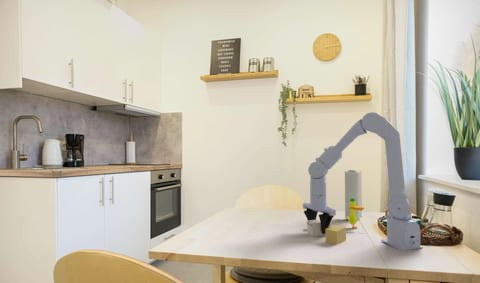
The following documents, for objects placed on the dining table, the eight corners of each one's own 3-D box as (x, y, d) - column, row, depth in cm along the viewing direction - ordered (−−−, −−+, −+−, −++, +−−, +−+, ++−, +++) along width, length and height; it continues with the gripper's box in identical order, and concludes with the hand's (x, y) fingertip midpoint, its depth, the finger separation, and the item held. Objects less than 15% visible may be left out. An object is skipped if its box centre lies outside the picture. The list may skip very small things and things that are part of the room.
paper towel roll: (345, 219, 135) (345, 171, 135) (344, 216, 140) (344, 170, 140) (362, 220, 132) (362, 171, 132) (361, 217, 138) (361, 170, 138)
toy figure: (364, 228, 121) (364, 198, 121) (363, 230, 118) (363, 199, 118) (346, 226, 124) (346, 196, 124) (345, 228, 121) (345, 198, 121)
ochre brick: (346, 241, 104) (345, 226, 104) (337, 246, 99) (336, 231, 99) (334, 238, 107) (334, 224, 107) (325, 244, 102) (325, 229, 102)
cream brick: (330, 235, 111) (330, 221, 111) (311, 237, 109) (311, 223, 109) (324, 232, 115) (324, 219, 115) (307, 233, 113) (306, 220, 113)
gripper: (341, 196, 108) (341, 234, 108) (312, 190, 121) (312, 225, 121) (327, 198, 104) (327, 238, 104) (298, 192, 117) (298, 227, 117)
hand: (318, 231), depth 112 cm, fingers closed on cream brick, 5 cm apart
